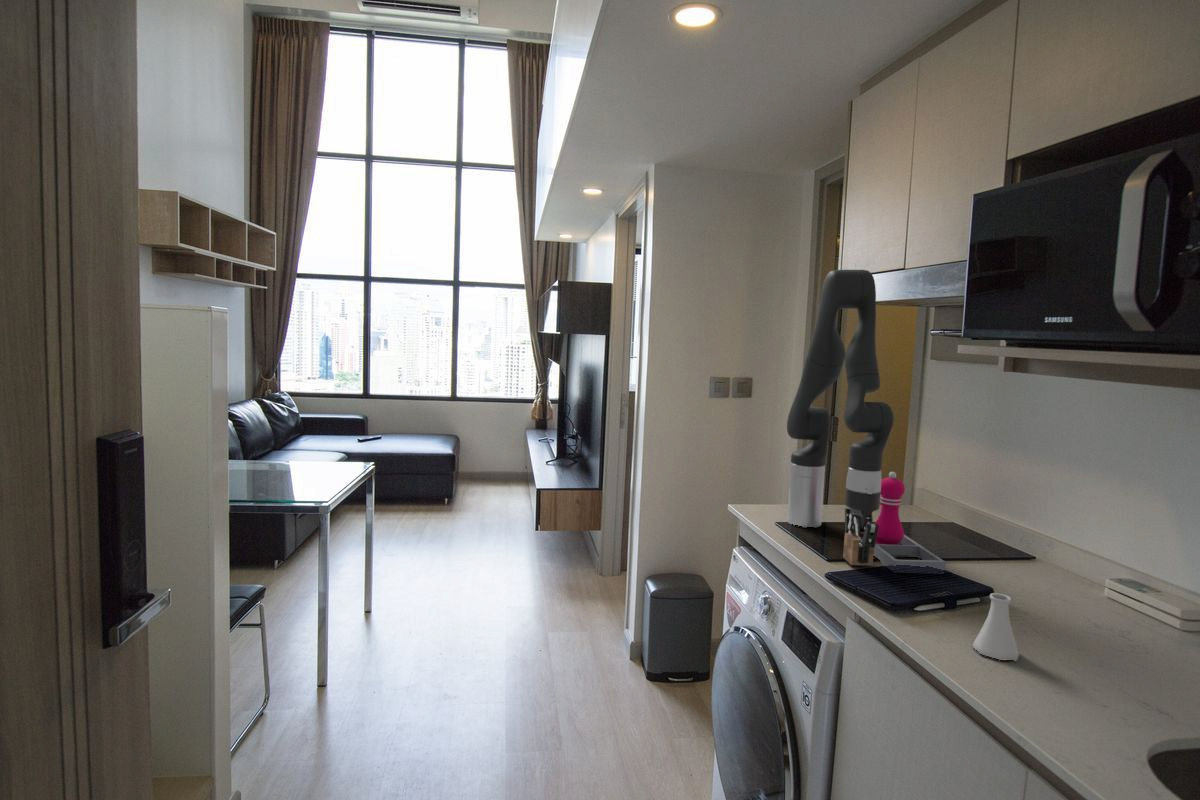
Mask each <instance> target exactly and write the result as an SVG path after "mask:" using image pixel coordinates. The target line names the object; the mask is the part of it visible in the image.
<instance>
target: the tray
mask: <svg viewBox="0 0 1200 800" xmlns="http://www.w3.org/2000/svg"><path fill="white" fill-rule="evenodd" d="M861 533H864V532H861ZM899 543H900V544H902V545H887V544H875V547H874V556H875V557H877V558H878V559H879V560H880V561H881V563H882V564H881V563H880V564H881V565H883V564H884V565H893V566H896V565H910V566H920V567H926V566H929V567H933V568H937V569H941V570H945V571H946V561H945V560H943V559H942V558H941V557H939V556H937V555H936V554H935V553H933V552H931V551H930V550H928V549H927V548H926V547H924V546H922V545H921V544H920V543H918V542H916V541H915V540H913V539H912V538H910V537H909V536H907V535H906V534H904V537H903V539H902V540H901V541H900V542H899ZM891 555H916V556H919V557H920V558H921V559H922V560H920V559H898V558H894V557H893V556H891ZM884 565H883V566H884Z"/></svg>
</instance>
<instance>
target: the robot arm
mask: <svg viewBox="0 0 1200 800" xmlns="http://www.w3.org/2000/svg"><path fill="white" fill-rule="evenodd" d="M876 288H877V287H876V283H875V279H874V276H873V274H872V272H870V271H869V270H867V269H833V270H831V271H829V272H828V273H827V274H826V276H825V278H824V281H823V284H822V288H821V294H820V298H819V306H818V310H817V317H816V321H815V326H814V330H813V334H812V338H811V341H810V344H809V347H808V351H807V354H806V358H805V360H804V365H803V370H802V374H801V378H800V381H799V385H798V388H797V391H796V393H795V395H794V399H793V402H792V404H791V406H790V410H789V412H788V415H787V420H786V432H787V434H788V436H789V437H790V438H791V439H794V440H805V441H806V440H807V441H808V440H809V441H810V443H809V444H807V446H805V447H803V448H800V449H796V450H795V451H793V452H792V453H791V455H790V469H789V471H790V472H789V488H788V489H789V491H788V506H787V518H786V519H787V520H786V521H787V523H788V524H790V525H792V524H793V525H792V526H795V525H798V526H797V527H799V526H802V527H801V528H807V527H814V528H818V527H821V526H822V515H823V503H824V488H825V475H826V474H825V473H826V471H825V469H826V458H827V455H828V445H829V443H828V442H829V437H830V428H831V417H830V416H831V415H830V413H829V410H828V409H827V408H826V407H823V406H811V405H812V404H813V403H814V401H815V400H816V399H817V398H818V397H819V396H820V395H822V394H823V393H825V391H827V389H829V388H830V387H831V386H832V385H833V384H835V382H836V381H837V380H838V379H839V376H840V375H841V372H842V368H843V366H845V367H844V369H845V373H846V380H847V390H846V400H845V405H844V411H843V420H844V423H845V426H846V427H847V428H848V430H849V431H850V432H852V433H856V434H857V433H858V434H859V433H861V434H862V433H867V435H866V436H865V438H864V439H862V440H860V441H856V442H854V443H852V444H851V445H850V449H849V457H848V458H849V459H848V470H847V474H846V482H845V483H846V484H845V495H844V496H845V497H844V505H845V506H846V507H845V508H844V530H845V531H844V533H856V536H857V537H858V540H859V549H858V562H859V563H868V558H869V548H871V547H872V548H874V547H875V543H876V538H877V533H878V528H879V526H878V524H875V523H874V519H873V518H874V517H873V513H874V512H875V511H878V510H879V509H880V507H881V505H880V504H881V502H880V496H881V481H882V480H883V479H882V466H883V465H882V464H883V453H884V450H885V448H886V445H887V441H888V439H889V437H890V434H891V432H892V428H893V427H894V422H895V421H894V412H893V409H892V408H891V406H890V405H889V403H887V402H882V401H865V397H866V394H871V393H873V392H876V391H878V390H879V389H880V387H881V379H880V372H879V364H878V358H877V348H876V332H877V331H876V330H877V329H876V328H877V326H876V324H877V299H876V298H877V291H876ZM840 309H841V310H843V309H844V310H846V309H851V310H853V309H856V310H857V316H858V318H857V319H858V321H857V325H856V326H857V327H856V329H855V331H854V334H853V336H852V338H851V340H850V342H849V345H848V346H847V349H846V347H845V345H844V343H843V340H842V338H841V335H840V334H839V332H838V329H837V324H836V318H837V315H838V312H839V311H840ZM847 507H848V508H847ZM861 532H864V534H863V533H861ZM862 538H863V539H862ZM871 539H872V540H871Z"/></svg>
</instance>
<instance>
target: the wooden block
mask: <svg viewBox="0 0 1200 800" xmlns="http://www.w3.org/2000/svg"><path fill="white" fill-rule="evenodd" d="M863 534H864V533H863ZM862 539H863V538H862ZM871 540H872V539H871ZM858 549H859V540H858V537H857V536H856V533H846V532H844V540H843V552H842V553H843V555H842V558H843V559H844V560H845V561H846V562H848V564H850V566H873V565H874V557H873V556H874V548H872V547H871V548H869V558H868V563H859V562H858Z"/></svg>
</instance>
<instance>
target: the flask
mask: <svg viewBox="0 0 1200 800" xmlns="http://www.w3.org/2000/svg"><path fill="white" fill-rule="evenodd" d="M989 599H990V601H991V602H990V608H989V611H988V614H987V617H986V619H985V621H984V623H983V625H982V627H981V629H980V631H979V632H978V634H977V636H976V638H975V640H974V642H973V643H972V645H971V647H972V646H973V648H975V650H974V651H976V650H977V651H978V652H979V653H980V654H983V655H986V656H989V657H993V658H998V659H1007V660H1017V659H1018V660H1019V658H1018V656H1019V657H1020V652H1019V651H1020V650H1019V648H1018V645H1017V641H1016V638H1015V635H1014V632H1013V629H1012V625H1011V624H1012V623H1011V622H1010V621H1011V620H1010V613H1009V607H1010V603H1011V601H1012V597H1010V596H1008V595H1007V594H1004V593H1003V594H1002V593H996V592H995V593H994V592H992V593H990V594H989ZM973 648H972V649H973ZM977 651H976V652H977ZM978 652H977V653H978ZM979 653H978V654H979ZM980 654H979V655H980ZM986 656H985V657H986ZM989 657H988V658H989ZM993 658H992V659H993ZM1018 660H1017V661H1018Z"/></svg>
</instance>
